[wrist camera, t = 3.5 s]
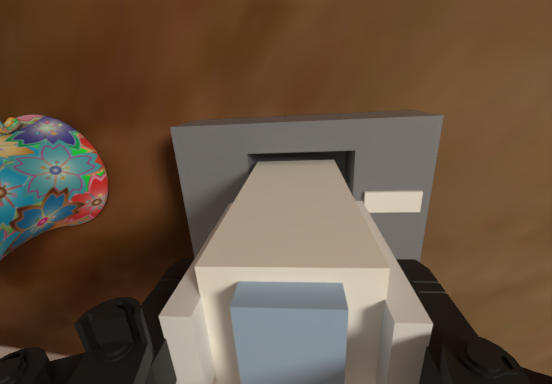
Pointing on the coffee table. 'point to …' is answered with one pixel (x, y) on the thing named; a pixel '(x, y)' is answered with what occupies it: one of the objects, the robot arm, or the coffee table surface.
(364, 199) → the panel
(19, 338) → the coffee table surface
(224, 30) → the coffee table surface
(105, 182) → the mug
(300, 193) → the plug
